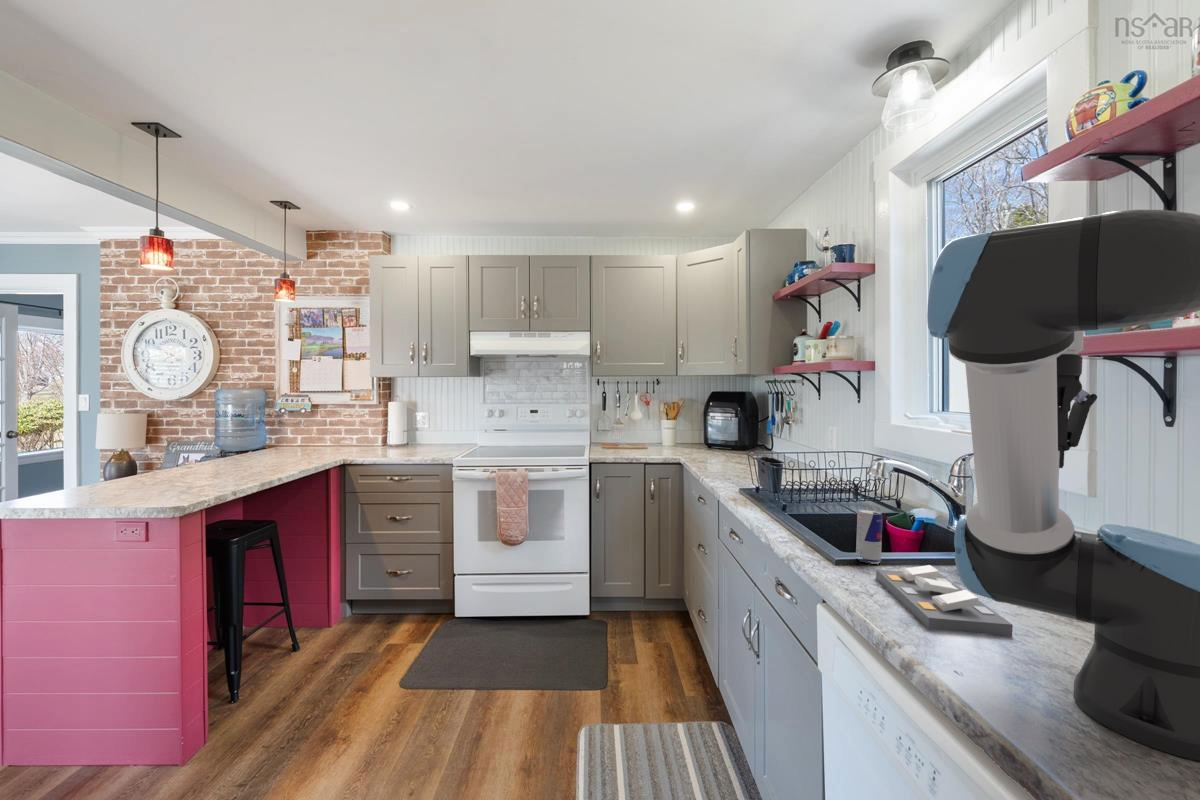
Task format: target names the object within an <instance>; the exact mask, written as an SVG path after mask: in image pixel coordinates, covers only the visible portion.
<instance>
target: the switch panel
mask: <svg viewBox="0 0 1200 800" xmlns="http://www.w3.org/2000/svg"><path fill="white" fill-rule="evenodd" d="M939 575H940V577H935V578H928V579H933V580H938V581H944V582H949V583H950V584H952V585H953V586H954V587H956V588H957V589H958V591H962V590H964V589H963V588H962V587H960V586H959V585H958V584H957V583H955V582H953V581H952V580H951V579H949V578H947V577H946V576H945V575H943V574H942V573H939ZM875 579H876V581H878V582H879V583H880V584H881V585H882V586H883V587H884V588H885V589H886V590H887V591H888V592H889V593H890V594H891V595H892V596H893V597H894V598H895V599H896V600H898V602H899V603H901V604H902V605H903V606H904V607H905V608H906V609H907V611H909V612H910V613H911V614H912V615H913V616H914V617H915V618H916V619H917V620H918V621H919V622H920V623H921V624H922V625H923V626H924V627H926V629H928V630H935V631H945V632H956V633H957V632H958V633H968V634H980V635H981V634H982V635H992V636H1006V637H1013V630H1014V629H1013V627H1014V625H1013V624H1012V623H1011V622H1010V621H1008V620H1007V619H1005V618H1004V617H1002V616H1001V615H1000V614H999V613H998V612H995V611H994V610H993V609H991V608H990V607H989V606H987V605H986V604H985V603H983V602H982V601H980V600H979V599H978V601H979V604H978V605H973V606H968V607H964V608H959V609H954V610H949V611H944V612H943V611H942V610H941V609H940V608H939V607H938V606H936V605H935V604H934V603H933V599H932V597H933V596H937V595H938V596H939V595H943V594H946V593H940V592H935V591H929V590H924V589H922V588H921V587H920V586H918V585H917V584H916V583H915V580H913V581H907V580H906V579H905V578H904V577H903V576H902V575H901V573H900V570H888V569H887V570H885V569H876V570H875Z"/></svg>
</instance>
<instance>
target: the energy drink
mask: <svg viewBox="0 0 1200 800" xmlns="http://www.w3.org/2000/svg"><path fill="white" fill-rule="evenodd" d="M882 514H883V513H882V511H879V510H875V509H869V508H868V509H867V508H862V509H860V508H859V509H858V510H857V516H856V523H857V524H856V539H855V540H856V542H855V543H856V545H855V546H856V547H855V555H856V554H862V555H857V556H860V557H862V558H863V559H865V560H867V561H868V562H870V563H871V564H877V565H879V563H880V562H882V547H883V546H882V542H883V541H882V540H883V538H882V537H883V515H882ZM880 564H881V563H880Z"/></svg>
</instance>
